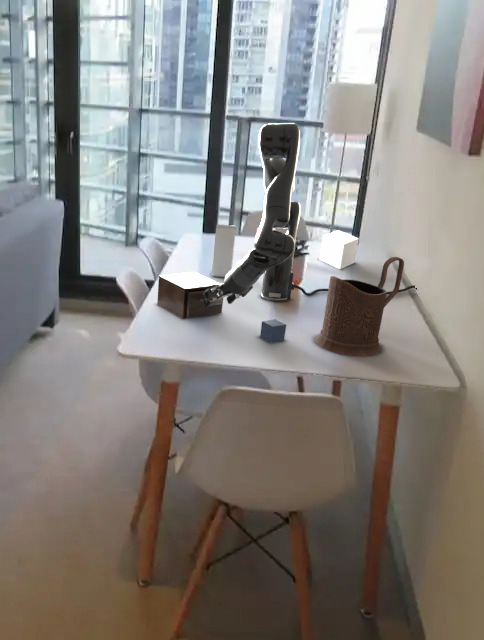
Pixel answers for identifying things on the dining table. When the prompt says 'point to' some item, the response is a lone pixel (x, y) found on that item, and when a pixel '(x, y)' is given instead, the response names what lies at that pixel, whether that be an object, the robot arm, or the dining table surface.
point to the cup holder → (356, 314)
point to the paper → (339, 249)
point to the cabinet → (180, 290)
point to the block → (273, 331)
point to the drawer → (201, 304)
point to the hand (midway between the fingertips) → (216, 302)
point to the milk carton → (223, 250)
